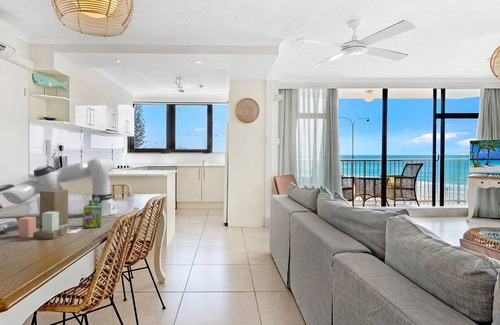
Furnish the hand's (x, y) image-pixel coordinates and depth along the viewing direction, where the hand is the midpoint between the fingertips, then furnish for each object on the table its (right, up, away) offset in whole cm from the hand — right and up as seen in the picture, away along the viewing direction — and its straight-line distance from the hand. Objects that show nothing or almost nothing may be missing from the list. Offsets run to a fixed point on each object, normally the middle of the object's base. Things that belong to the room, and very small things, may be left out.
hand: (11, 226), depth 150 cm
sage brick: (+20, -2, 0) cm, 20 cm away
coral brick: (+8, -5, 0) cm, 9 cm away
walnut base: (+20, -5, 0) cm, 20 cm away
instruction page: (+23, -5, +12) cm, 27 cm away
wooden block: (+6, -4, +25) cm, 26 cm away
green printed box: (+30, -5, +22) cm, 37 cm away
